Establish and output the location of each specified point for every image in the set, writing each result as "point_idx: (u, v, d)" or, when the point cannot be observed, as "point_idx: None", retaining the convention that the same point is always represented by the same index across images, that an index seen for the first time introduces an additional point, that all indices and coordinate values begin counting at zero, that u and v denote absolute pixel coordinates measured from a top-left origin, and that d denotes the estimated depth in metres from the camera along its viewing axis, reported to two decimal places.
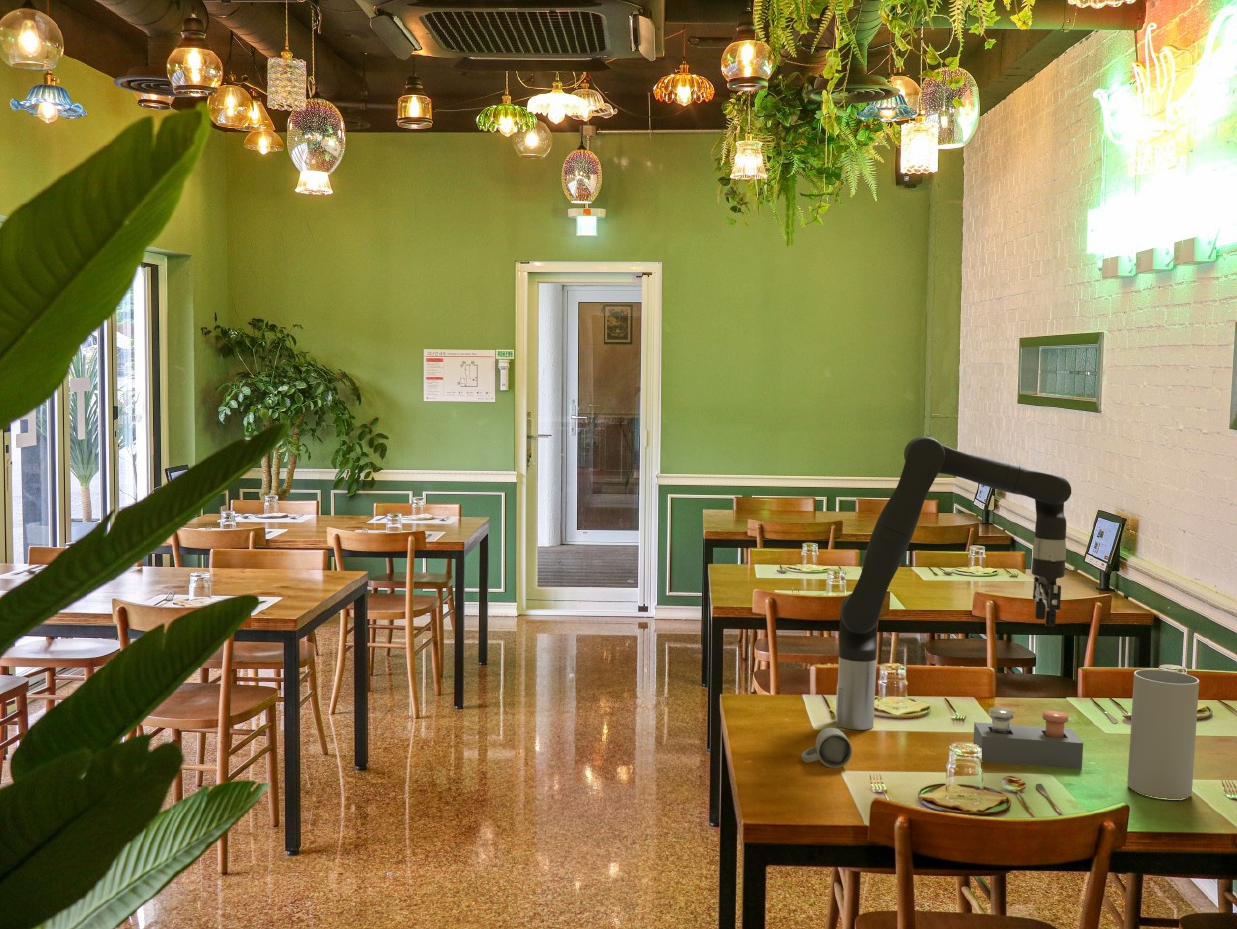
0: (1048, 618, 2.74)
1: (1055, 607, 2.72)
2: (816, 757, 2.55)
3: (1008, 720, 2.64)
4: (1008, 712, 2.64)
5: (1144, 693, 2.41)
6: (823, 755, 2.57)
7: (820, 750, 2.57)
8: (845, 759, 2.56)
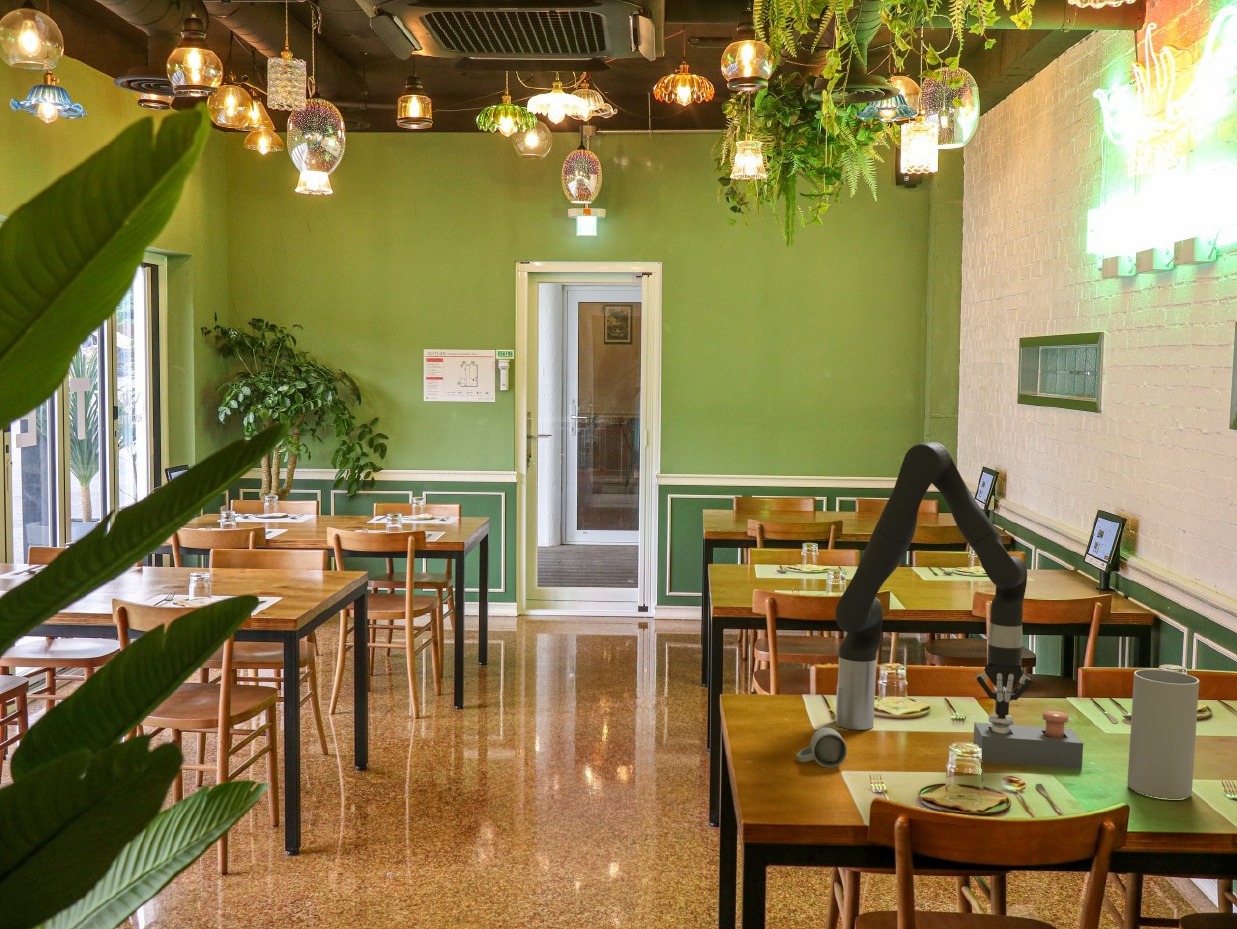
0: (1007, 709, 2.65)
1: None
2: (811, 757, 2.56)
3: (1008, 726, 2.64)
4: (1008, 718, 2.64)
5: (1144, 693, 2.41)
6: (818, 754, 2.57)
7: (815, 750, 2.57)
8: (840, 759, 2.56)
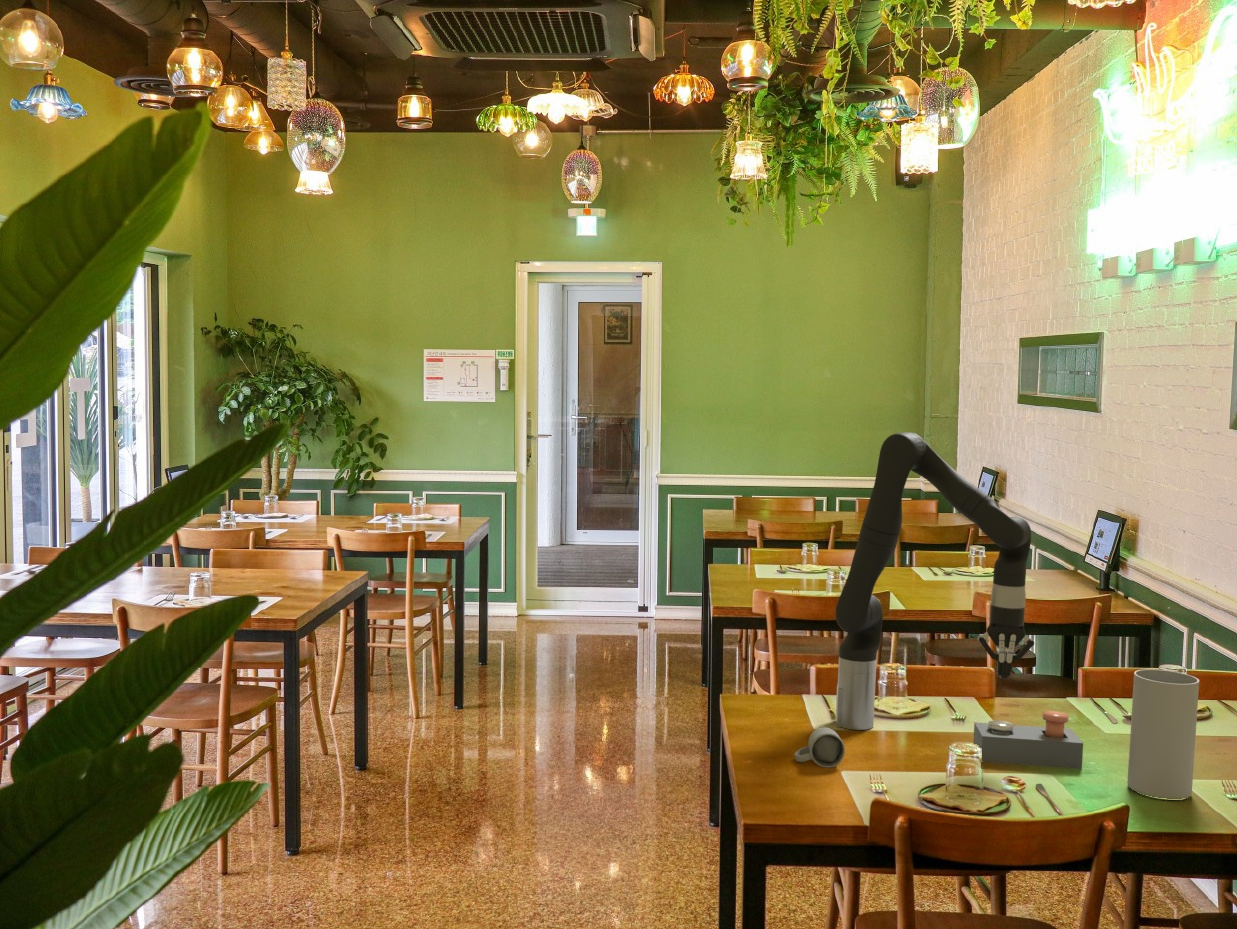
0: (1009, 670, 2.64)
1: None
2: (809, 757, 2.56)
3: (1007, 733, 2.64)
4: (1007, 725, 2.65)
5: (1144, 693, 2.41)
6: (816, 754, 2.57)
7: (813, 750, 2.57)
8: (838, 759, 2.56)
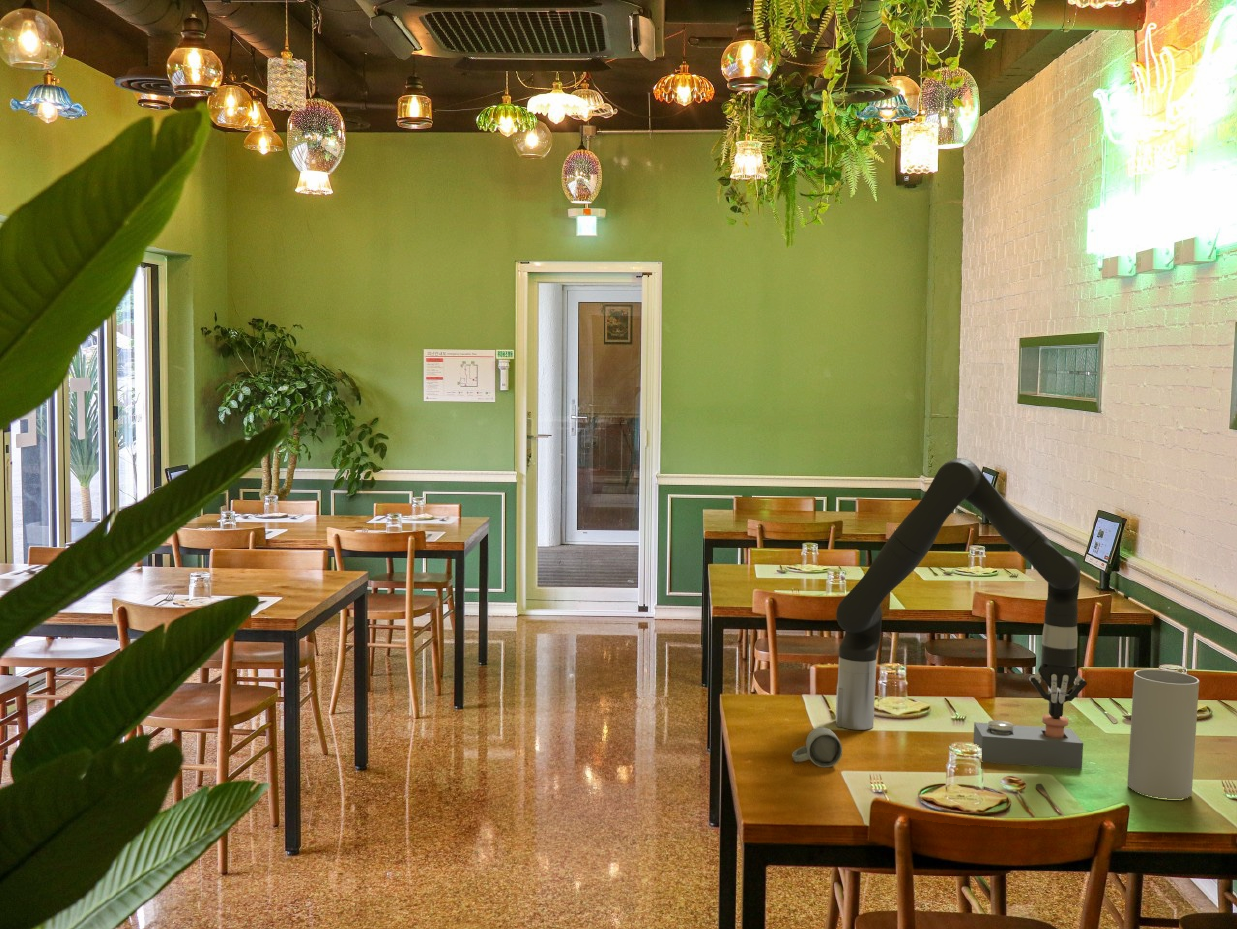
0: (1061, 710, 2.63)
1: None
2: (806, 757, 2.56)
3: (1007, 733, 2.64)
4: (1007, 725, 2.65)
5: (1144, 693, 2.41)
6: (813, 754, 2.57)
7: (810, 749, 2.57)
8: (835, 759, 2.56)
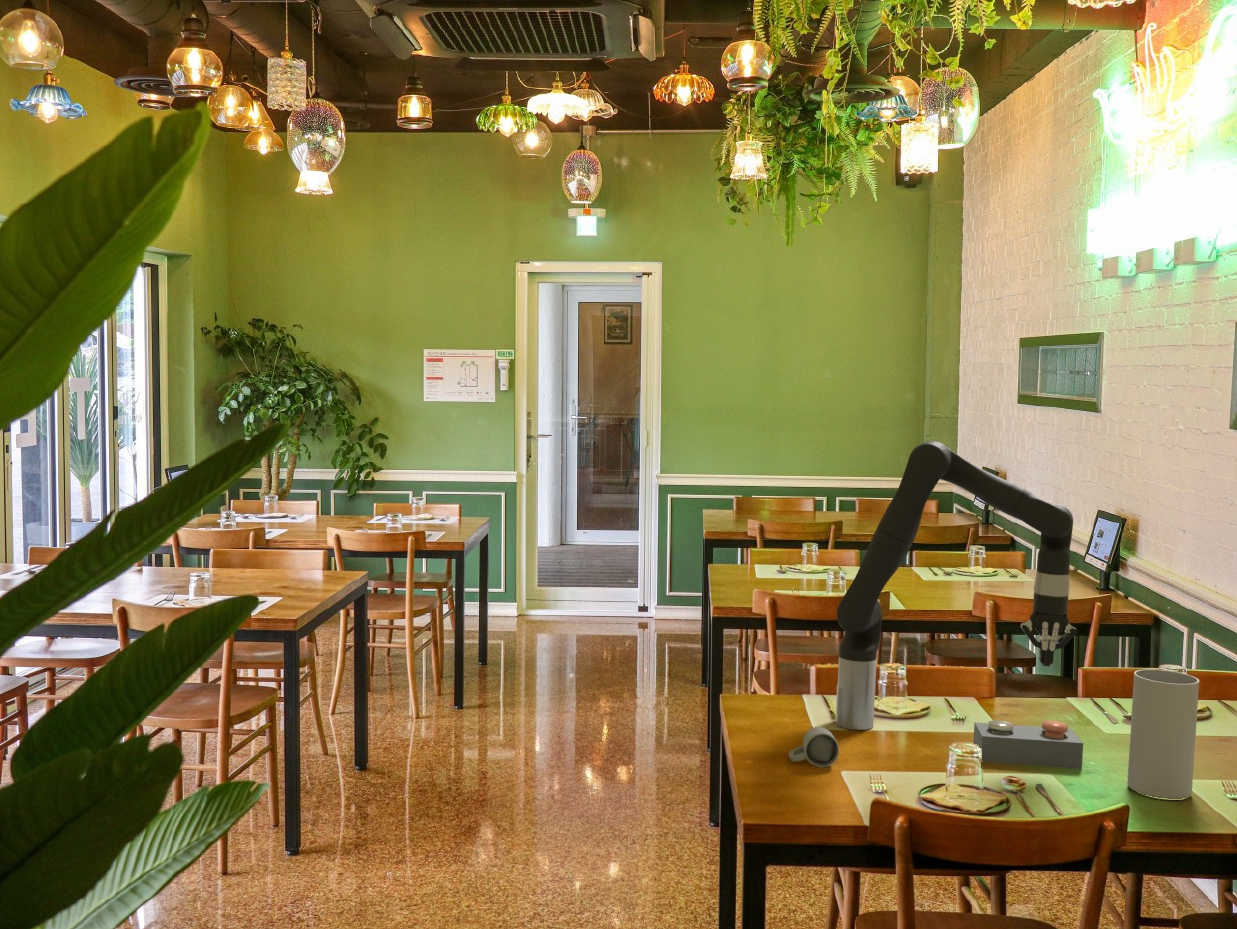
0: (1051, 658, 2.65)
1: None
2: (803, 757, 2.56)
3: (1007, 733, 2.64)
4: (1007, 725, 2.65)
5: (1144, 693, 2.41)
6: (810, 754, 2.57)
7: (807, 749, 2.57)
8: (832, 758, 2.56)
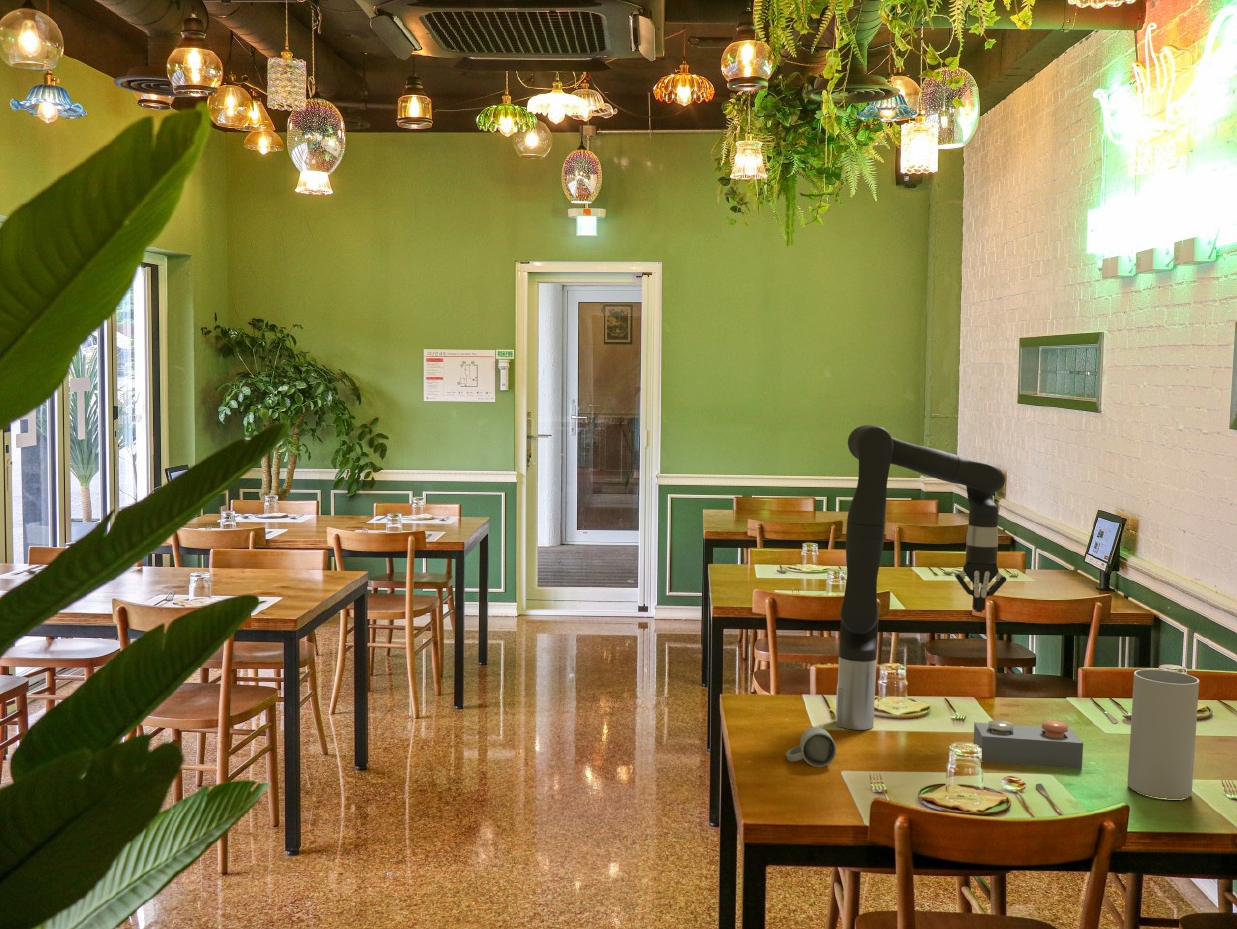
0: (983, 604, 2.88)
1: None
2: (800, 756, 2.56)
3: (1007, 733, 2.64)
4: (1007, 725, 2.65)
5: (1144, 693, 2.41)
6: (807, 754, 2.57)
7: (804, 749, 2.57)
8: (829, 758, 2.56)
